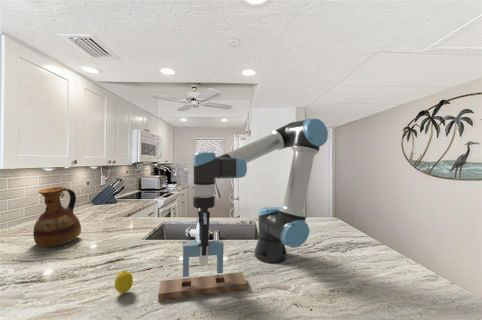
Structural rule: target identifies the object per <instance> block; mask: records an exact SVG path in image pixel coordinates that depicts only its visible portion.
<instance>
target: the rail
mask: <svg viewBox="0 0 482 320" xmlns="http://www.w3.org/2000/svg"><path fill="white" fill-rule="evenodd" d="M244 290H245V291H247V290H248V281H247V280H246V278H245V276H244V274H243V272H231V273H219V274H212V275H202V276H194V277H182V278H175V279H167V280H166V279H165V280H160V284H159V289H158V293H157V294H158V295H157V298H158V299H157V301H158V302H163V301H172V300H180V299H186V298H187V299H188V298H189V299H190V298H195V297H204V296H210V295H219V294H220V295H221V294H227V293H228V294H229V293H234V292H241V291H242V292H243V291H244Z"/></svg>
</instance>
